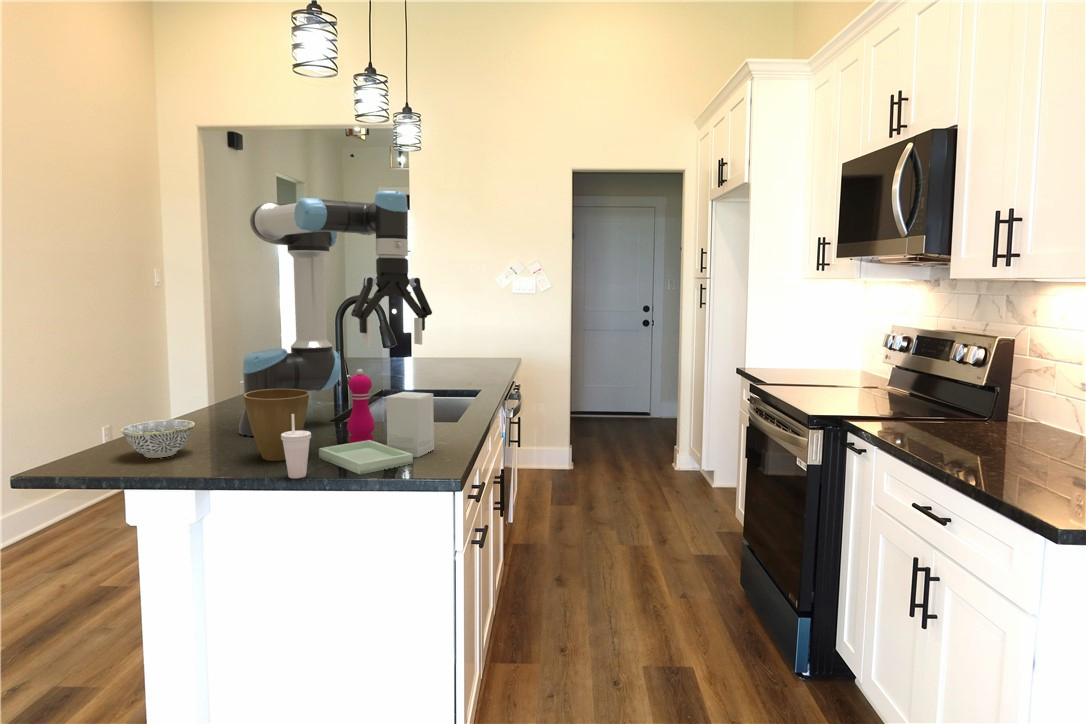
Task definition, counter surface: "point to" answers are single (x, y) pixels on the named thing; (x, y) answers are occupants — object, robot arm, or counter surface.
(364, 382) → the pepper mill
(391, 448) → the tray
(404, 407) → the supplement box
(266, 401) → the plant pot
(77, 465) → the counter surface
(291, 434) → the smoothie
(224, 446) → the counter surface
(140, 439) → the bowl
